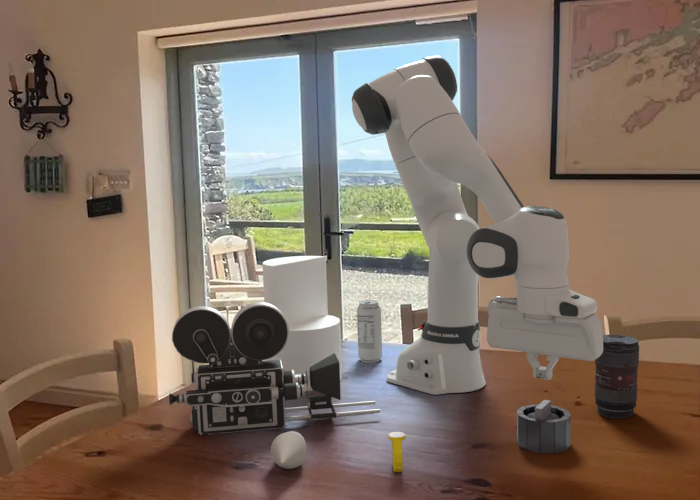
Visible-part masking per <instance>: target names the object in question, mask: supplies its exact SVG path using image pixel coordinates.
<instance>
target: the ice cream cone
mask: <svg viewBox="0 0 700 500" xmlns="http://www.w3.org/2000/svg"><path fill="white" fill-rule="evenodd" d="M270 454H271V455H270V456H271V458H272V460H273V461H274V463H275V464H277V466H279V467H280V468H283V469H285V470H293V469H296V468H298V467H299V466H301V465H302V464H303V463H304V461H305V460H306V458H307V454H308V447H307V443H306V440H305V438H304V436H303V435H302V434H301V433H300V432H297V431H293V430H291V431H286V432H282V433H280V434H279V435H278V436H277V435H276V437H275V438H274V440H273V441H272V443H271V447H270Z"/></svg>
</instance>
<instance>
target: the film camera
mask: <svg viewBox="0 0 700 500" xmlns="http://www.w3.org/2000/svg"><path fill="white" fill-rule="evenodd" d="M288 334H289V329H288V324H287V321H286V318H285V316H284V315H283V313H282V312H281V311H280V310H279V309H278V308H277V307H275V306H274V305H272V304H269V303H265V302H264V301H255V302H251V303H248V304H246V305H245V306H243V307H242V308H241V309H239V310H238V311H237V312H236V314H235V315H234V318H233V319H232V323H231V326H230V324H229V321H228V319H227V318H226V317H225V315H224V314H223V313H222V312H220V311H219V310H218V309H215V308H213V307H210V306H205V305H204V306H203V305H200V306H193V307H191V308H189V309H187V310H185V311H184V312H182V313H181V314H180V315H179V317H178V318H177V319H176V321H175V323H174V326H173V328H172V332H171V341H172V343H173V346H174V348H175V350H176V352H177V353H178V354H179V355H180V356H181V357H182V358H185V359H186V360H188V361H191V362H193V363H194V362H195V363H197V364H198V365H197V366H196V368H195V372H194V373H193V372H191V383H192V384H193V383H195V389H190V390H186V392H183V393H177V394H176V395H175V394H173V393H171V392H170V393H169V394H168V398H169V399H168V402H169V406H171V405H172V404H174V403H177V404H183V403H184V404H186V407H191V412H190V414H189V415H190V417H189V418H190V419H189V421H190V424H192V429H193V430H195V431H196V432H198V435H199V434H200V436H203V435H202V434H208V435H214V434H213V433H219V434H229V433H241V432H251V431H262V430H273V429H274V430H276V429H277V428H278V429H285V428H286V426H287V425H286V421H296V420H298V421H299V420H306V419H307V420H308V419H310V420H312V421H313V420H314V419H323V418H324V419H325V418H337V417H342V416H344V417H345V416H355V415H365V414H378V413H381V409H380V408H378V409H376V408H375V409H366V410H353V411H351V410H350V411H342V412H339V411H338V412H337V411H336V409H335V408H345V407H357V406H360V407H361V406H369V405H376V400H371V401H370V400H368V401H358V402H346V403H332V402H333V401H332V398H334V399H336V400H339V401H341V381H340V367H339V361H338V359H337V357H336V355H335V353H334V354H332V355H330V356H328V357H327V358H325V359H323V360H321V361H320V362H318V363H316V364H314V365H312V366H311V367H310V372H309V374H307V370H306V374H299V375H295V374H294V370H290V371H284V375H283V367H282V363H281V360H280V359H279V360H267V359H270V358H272V357H274V356H276V355H277V354H278V353H279V352H281V351H282V349H283V348H284V347H285V345H286V342H287V340H288ZM307 375H309V381H310V391H308V389H307V391H305V388H304V385H299V384H307V386H308V376H307ZM311 388H312V390H313V391H315V392H318V393H321V394H322V395H320V394H319V395H312V391H311ZM308 393H309V395H308ZM305 396H306V399H307V400H309V402H308V403H307V406H296V407H294V406H293V407H285V406H286V405H285V401H296V400H297V401H298V400H300V398H301V397H305ZM326 409H330V410H331V412H326V413H323V412H322V413H313V411H315V410H326ZM297 411H298V412H300V411H308V413H309V414H307V415H306V414H305V415H292V416H286V412H297Z"/></svg>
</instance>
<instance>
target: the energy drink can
mask: <svg viewBox="0 0 700 500" xmlns="http://www.w3.org/2000/svg"><path fill="white" fill-rule="evenodd" d="M356 315H357V316H356V321H357V322H356V323H357V324H356V325H357V355H358V358H359V360H360V362H361V361H362V363H364V362H365V364H374V363H379V362H380V361H381V359H382V358H383V343H382V342H383V340H382V339H383V338H382V336H383V335H382V331H383V330H382V308H381V305H379V300H374V299H372V300H371V299H370V300H368V299H367V300H361V301H359V302H358V307H357V309H356Z"/></svg>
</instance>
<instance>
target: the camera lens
mask: <svg viewBox="0 0 700 500" xmlns="http://www.w3.org/2000/svg"><path fill="white" fill-rule="evenodd" d="M639 360H640V345H639V339H637V338H635V337H632V336H628V335H622V334H621V335H619V334H603V353H602V354H601V356H600V357H599V358H597V359H596V360H594V365H595V373H594V375H595V379H594V400H595V401H594V403H595V405H596V406H597V407H596V408H597V413H598V414H599V415H601V416H603V417H605V418H610V419H627V418H630V417H633V416H634V411H635V408H636V407H637V402H638V401H637V400H638V370H639V369H638V368H639V363H640V361H639Z"/></svg>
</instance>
